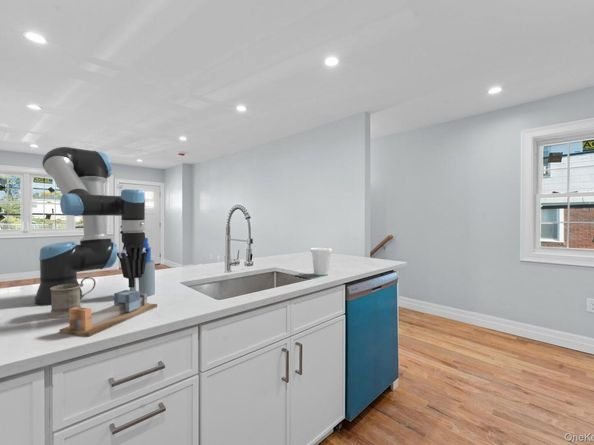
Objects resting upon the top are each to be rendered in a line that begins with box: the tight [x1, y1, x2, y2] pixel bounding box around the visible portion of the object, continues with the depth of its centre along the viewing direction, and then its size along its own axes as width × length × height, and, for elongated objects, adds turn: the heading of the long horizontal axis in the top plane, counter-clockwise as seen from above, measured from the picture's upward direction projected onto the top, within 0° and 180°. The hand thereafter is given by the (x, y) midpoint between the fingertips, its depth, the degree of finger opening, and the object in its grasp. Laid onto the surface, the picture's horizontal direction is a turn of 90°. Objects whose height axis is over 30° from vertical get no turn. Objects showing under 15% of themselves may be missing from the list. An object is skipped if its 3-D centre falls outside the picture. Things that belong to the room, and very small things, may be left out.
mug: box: [47, 275, 96, 319], centre depth 106 cm, size 14×10×12 cm
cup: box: [310, 247, 333, 277], centre depth 172 cm, size 12×12×15 cm
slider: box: [113, 289, 140, 312], centre depth 105 cm, size 6×5×6 cm
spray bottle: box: [139, 237, 156, 298], centre depth 128 cm, size 9×9×25 cm
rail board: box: [59, 293, 158, 337], centre depth 99 cm, size 11×28×7 cm, turn 166°
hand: (134, 295), depth 108 cm, fingers closed
